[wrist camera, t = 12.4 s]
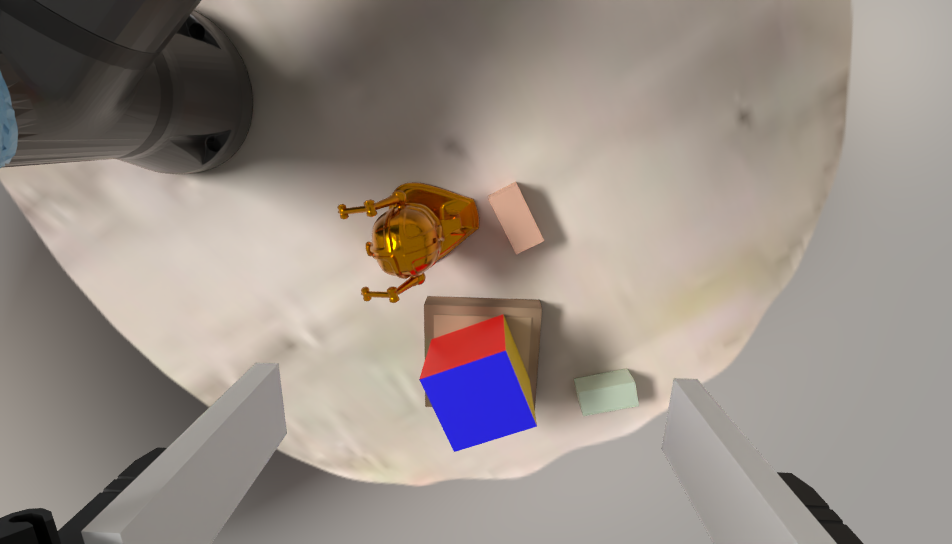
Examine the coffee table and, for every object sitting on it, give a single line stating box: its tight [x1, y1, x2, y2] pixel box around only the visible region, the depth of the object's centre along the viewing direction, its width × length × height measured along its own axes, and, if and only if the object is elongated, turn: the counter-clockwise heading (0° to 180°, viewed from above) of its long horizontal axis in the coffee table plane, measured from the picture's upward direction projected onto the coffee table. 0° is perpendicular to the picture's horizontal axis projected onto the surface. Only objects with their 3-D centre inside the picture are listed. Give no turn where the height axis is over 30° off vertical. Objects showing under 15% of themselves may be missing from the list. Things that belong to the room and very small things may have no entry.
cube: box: [419, 314, 537, 452], centre depth 43 cm, size 8×8×8 cm
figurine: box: [338, 182, 479, 303], centre depth 40 cm, size 8×11×12 cm
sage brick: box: [574, 369, 639, 416], centre depth 49 cm, size 6×3×3 cm, turn 104°
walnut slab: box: [424, 296, 542, 411], centre depth 48 cm, size 12×12×3 cm
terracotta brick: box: [488, 182, 544, 254], centre depth 44 cm, size 6×3×3 cm, turn 27°
